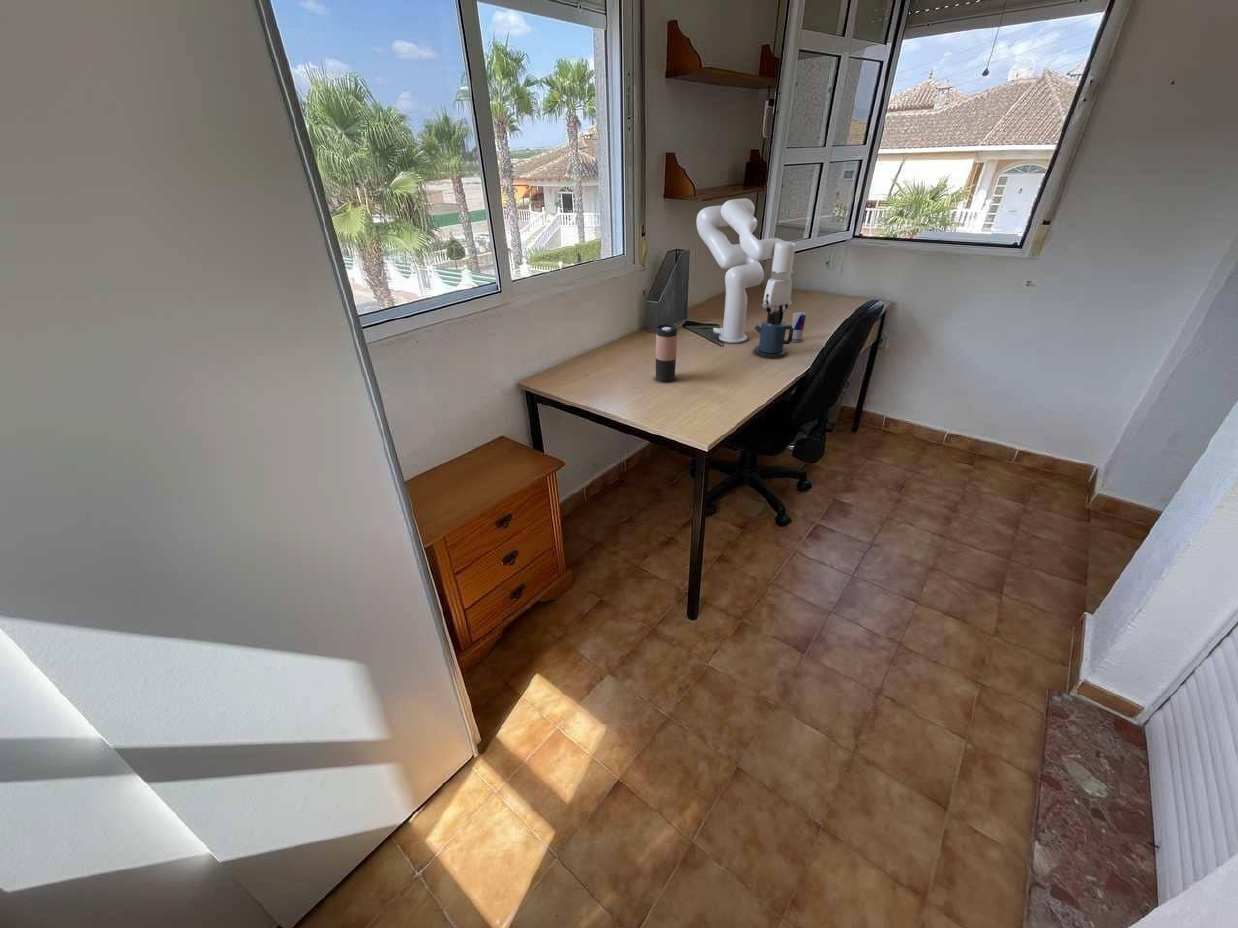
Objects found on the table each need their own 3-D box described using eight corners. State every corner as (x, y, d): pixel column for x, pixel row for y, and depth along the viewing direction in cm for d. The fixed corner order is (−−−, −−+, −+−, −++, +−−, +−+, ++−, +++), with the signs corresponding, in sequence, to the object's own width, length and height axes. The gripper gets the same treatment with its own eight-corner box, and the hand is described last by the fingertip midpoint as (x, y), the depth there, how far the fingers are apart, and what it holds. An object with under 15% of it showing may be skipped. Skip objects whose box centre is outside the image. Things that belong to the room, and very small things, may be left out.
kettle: (750, 351, 218) (754, 313, 210) (753, 343, 226) (757, 306, 218) (789, 355, 214) (795, 316, 205) (791, 347, 222) (797, 309, 213)
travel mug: (662, 373, 204) (664, 322, 193) (679, 378, 200) (681, 326, 189) (651, 379, 199) (652, 328, 188) (667, 384, 195) (669, 332, 184)
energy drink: (801, 342, 231) (806, 315, 225) (789, 341, 232) (793, 315, 226) (800, 338, 236) (805, 312, 230) (788, 338, 237) (792, 311, 230)
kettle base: (752, 356, 218) (752, 353, 217) (756, 346, 228) (756, 343, 227) (784, 360, 214) (785, 356, 213) (787, 349, 224) (787, 346, 223)
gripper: (792, 271, 210) (785, 317, 219) (757, 275, 205) (751, 322, 214) (804, 275, 204) (797, 322, 213) (768, 279, 199) (762, 327, 208)
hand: (774, 321), depth 214 cm, fingers closed on kettle, 3 cm apart
